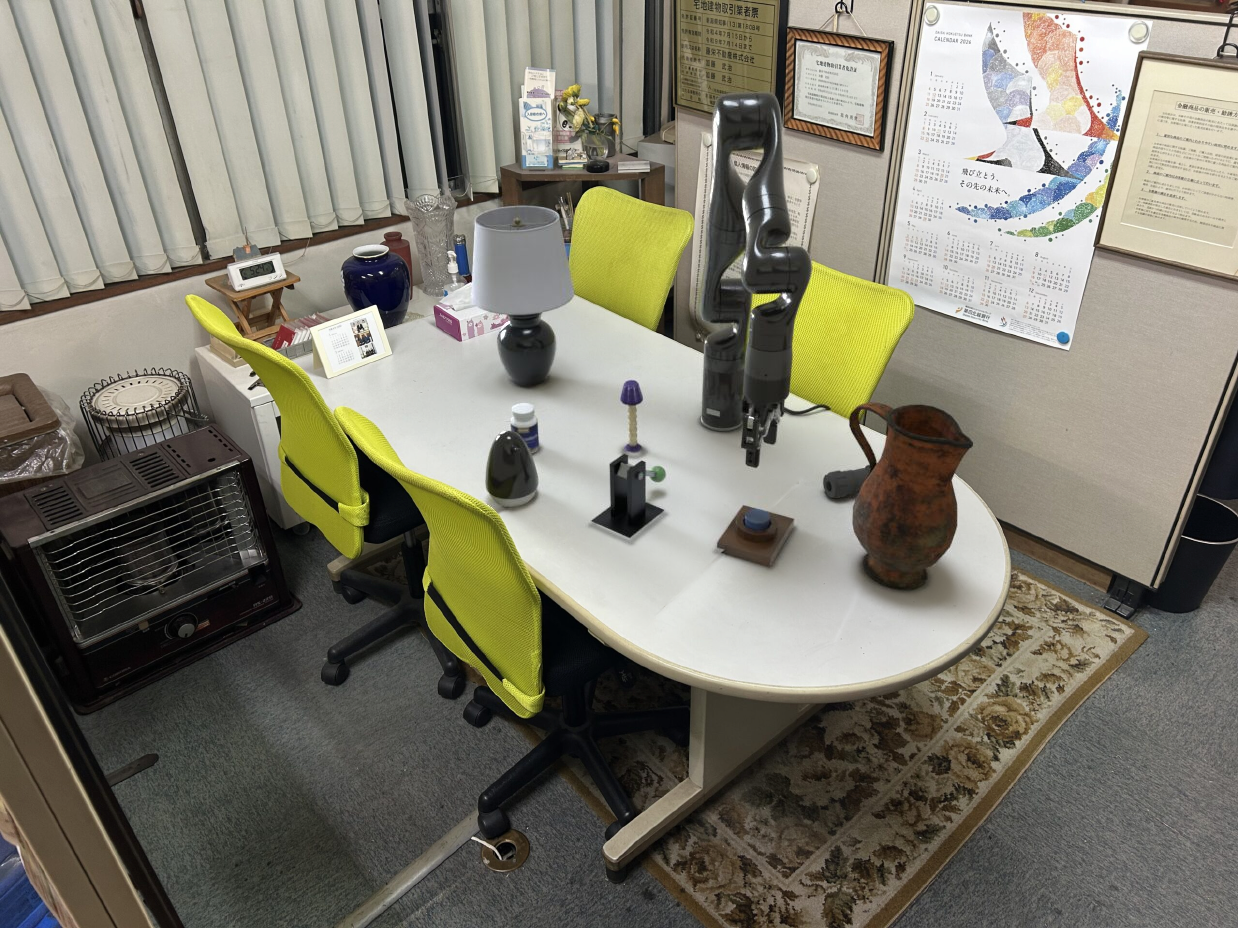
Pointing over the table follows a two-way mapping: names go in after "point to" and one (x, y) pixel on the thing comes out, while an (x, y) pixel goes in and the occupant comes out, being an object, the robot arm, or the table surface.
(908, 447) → the pitcher
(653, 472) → the switch lever
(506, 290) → the lamp
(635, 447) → the toy lamp
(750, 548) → the button block
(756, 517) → the light button
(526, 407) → the pill bottle
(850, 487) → the flashlight
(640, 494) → the switch bracket
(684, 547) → the table surface
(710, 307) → the robot arm
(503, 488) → the black egg-shaped dome
